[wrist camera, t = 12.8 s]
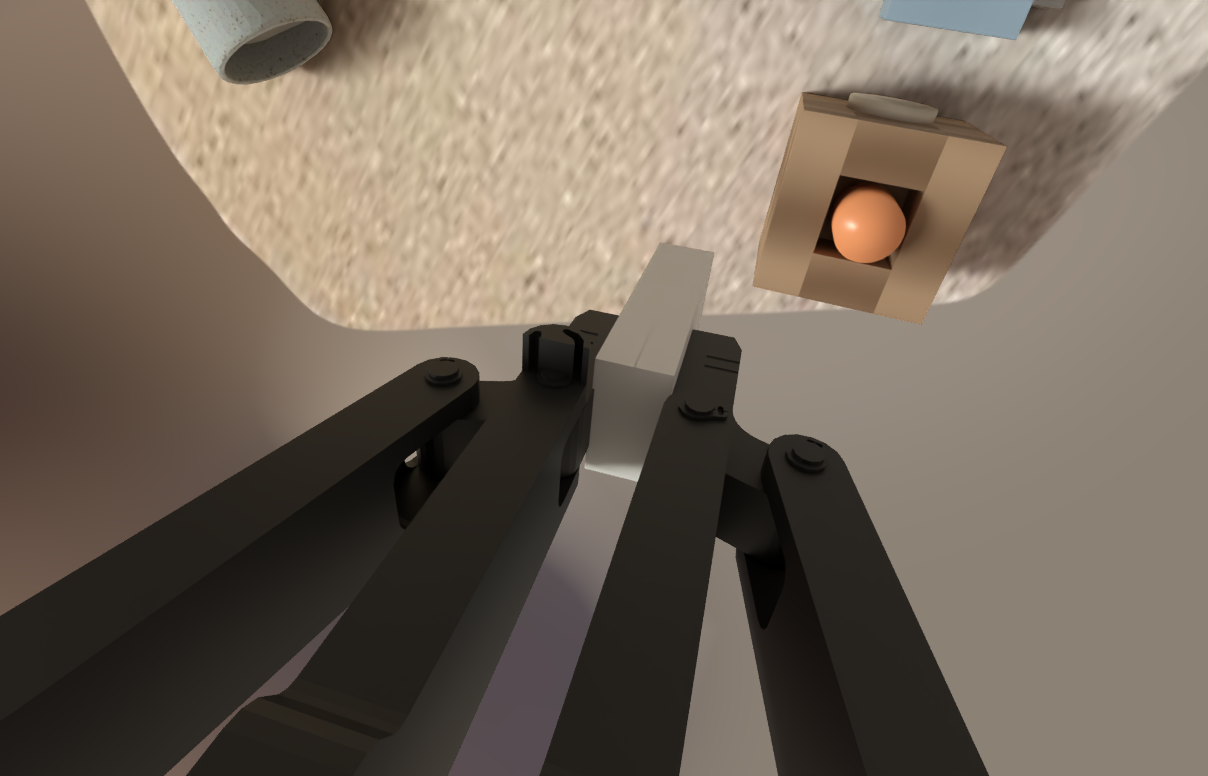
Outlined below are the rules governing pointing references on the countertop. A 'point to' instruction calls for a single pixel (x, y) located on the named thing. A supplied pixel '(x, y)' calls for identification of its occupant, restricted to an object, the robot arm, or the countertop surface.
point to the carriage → (961, 15)
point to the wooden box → (898, 162)
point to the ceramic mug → (256, 35)
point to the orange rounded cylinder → (867, 222)
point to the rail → (1048, 4)
